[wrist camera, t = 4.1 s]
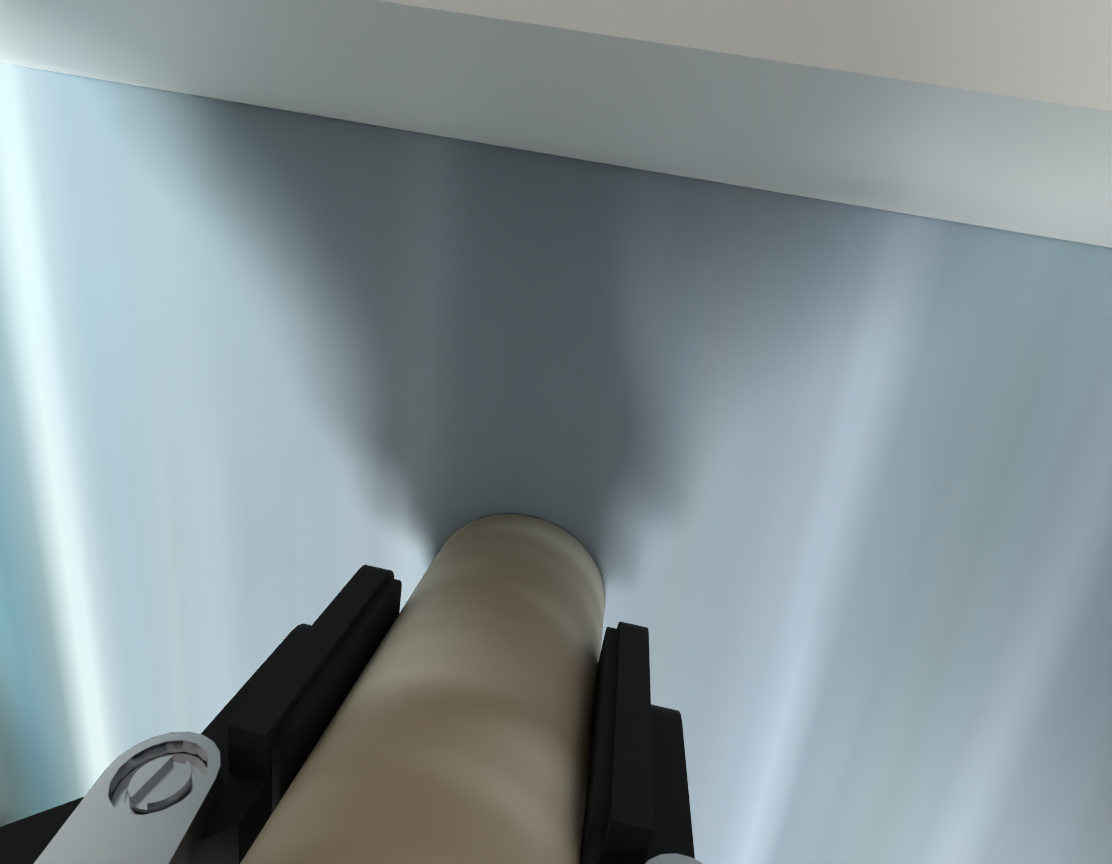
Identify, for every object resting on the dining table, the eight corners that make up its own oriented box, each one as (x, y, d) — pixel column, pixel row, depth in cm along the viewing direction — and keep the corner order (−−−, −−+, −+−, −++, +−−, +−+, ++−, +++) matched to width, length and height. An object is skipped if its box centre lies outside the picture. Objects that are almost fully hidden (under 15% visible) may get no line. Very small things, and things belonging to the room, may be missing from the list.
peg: (621, 535, 12) (571, 1471, 3) (587, 682, 14) (477, 1656, 4) (440, 497, 13) (-128, 1240, 3) (424, 645, 14) (-13, 1477, 5)
